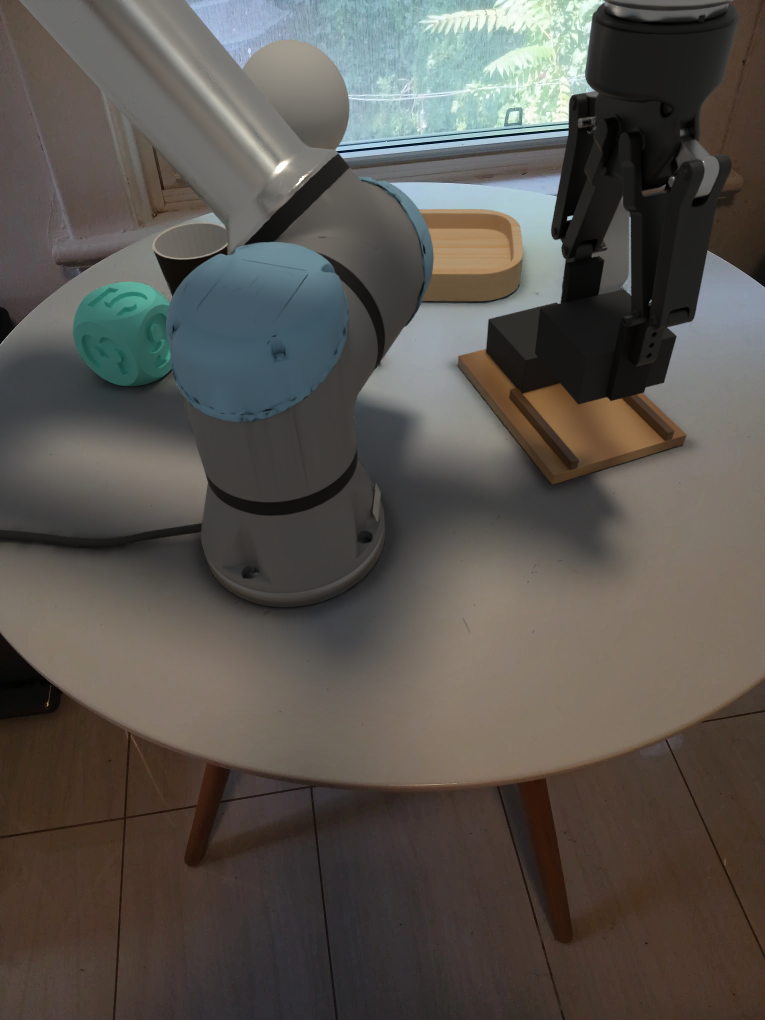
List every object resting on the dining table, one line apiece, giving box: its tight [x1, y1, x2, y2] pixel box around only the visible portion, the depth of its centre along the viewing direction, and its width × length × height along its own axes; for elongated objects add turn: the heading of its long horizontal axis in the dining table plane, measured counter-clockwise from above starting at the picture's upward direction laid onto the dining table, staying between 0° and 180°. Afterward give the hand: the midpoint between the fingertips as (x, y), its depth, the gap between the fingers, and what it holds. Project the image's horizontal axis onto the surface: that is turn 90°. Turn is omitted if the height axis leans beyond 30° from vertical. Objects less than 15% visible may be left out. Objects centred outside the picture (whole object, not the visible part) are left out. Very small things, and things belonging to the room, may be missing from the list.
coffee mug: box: [151, 221, 228, 298], centre depth 84 cm, size 12×9×10 cm
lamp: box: [242, 39, 524, 302], centre depth 85 cm, size 33×17×25 cm, turn 86°
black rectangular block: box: [535, 289, 678, 404], centre depth 54 cm, size 7×7×4 cm
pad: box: [485, 302, 560, 393], centre depth 75 cm, size 8×8×4 cm
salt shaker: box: [592, 196, 631, 295], centre depth 83 cm, size 6×6×13 cm
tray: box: [457, 348, 687, 485], centre depth 73 cm, size 14×20×2 cm
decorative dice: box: [72, 281, 172, 387], centre depth 78 cm, size 8×8×8 cm
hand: (597, 364), depth 55 cm, fingers closed on black rectangular block, 7 cm apart
